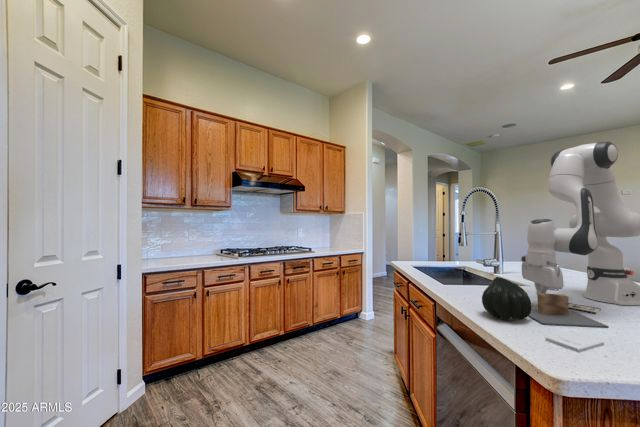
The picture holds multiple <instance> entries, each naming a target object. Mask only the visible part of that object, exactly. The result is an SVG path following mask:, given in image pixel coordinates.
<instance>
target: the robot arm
mask: <svg viewBox="0 0 640 427" xmlns="http://www.w3.org/2000/svg"><path fill="white" fill-rule="evenodd" d="M618 155H619V150H618V148H617V146H616V145H615V144H614V143H612V142H611V141H598V142H591V143H586V144H585V143H584V144H580V145H578V146H573V147H569V148H566V149H560V150H559V151H555V152H554V153H553V155H552V156H551V158H550V167H551V169H550V173H549V177H548V182H547V190H548V192H549V194H550V195H551V196H552V197H554V198H556V199H557V200H560V201H563V202H566V203H570V204H574V206H575V208H576V209H575V210H576V214H574V215H572V216H571V217H570V219H569V223H568V226H569V228H568V227H558V226H556V225H555V223H554V221H553V219H550V218H540V219H539V218H538V219H534V220H530V222H529V224H528V229H527V237H526V239H527V243H528V248H527V252H526V253H527V254H525V255H521V257H520V261H521V262H522V263H521V277H522V278H523V279H524V280H527V281H530V282H532V283H534V285H533V286H534V287H535V289H536V295H537V294H547V291H549V290H548V289H552V290H563V288H564V287H565V284H564V274H563V271H562V269H561V267H560V266H559V265H558V263H556V261H557V260H556V252H558V253H569V254H575V255H580V256H587V260H588V262H587V264H588V265H587V267H586V276H587V283H586V288H585V291H584V295H583V297H584V298H586V299H590V300H593V301H598V302H603V303H609V304H615V305H618V306H619V305H620V306H640V284H638V283H636V282H634V281H633V280H631V279H630V278H629V276H633V275H635V271H634V270H629V269H628V270H625V269H624V261H623V260H624V254H623V252H622V250H621V249H620V247H617V246H615V245H612V244H611V243H610V242H609V241H608V240H607V237H608V238H633V237H634V238H635V237H639V236H640V213H637V212H635V211H634V210H632V209H631V208H629V207H628V206H626V205H625V204H624V202H623V201H622V200H621V198H620V195H619V192H618V188H617V182H616V177H615V176H616V175H615V173H614V169H613V167H612V166H613V165H614V164H615V163H616V161H617V160H618V157H619V156H618ZM595 208H596V209H598V210H599V211H598V212H596V211H595Z"/></svg>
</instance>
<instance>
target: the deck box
mask: <svg viewBox="0 0 640 427" xmlns="http://www.w3.org/2000/svg"><path fill="white" fill-rule="evenodd" d="M536 295H537V309H538V313H540V314H546V315H568V316H569V311H570V309H569V303H570V302H569V298H570V297H569V295H566V294H560V293H559V294H557V293H546V294H537V293H536Z"/></svg>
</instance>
